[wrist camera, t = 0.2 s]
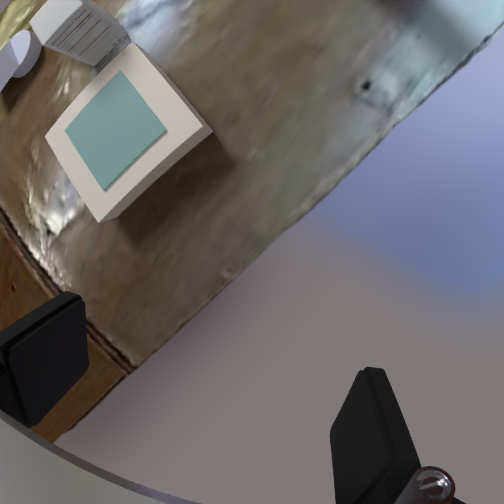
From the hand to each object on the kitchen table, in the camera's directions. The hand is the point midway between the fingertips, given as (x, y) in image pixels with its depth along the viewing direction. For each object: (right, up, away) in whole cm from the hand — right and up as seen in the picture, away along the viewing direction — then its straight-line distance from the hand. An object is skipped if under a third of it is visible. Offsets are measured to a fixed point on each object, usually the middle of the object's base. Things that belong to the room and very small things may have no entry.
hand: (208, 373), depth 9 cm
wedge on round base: (-42, +39, +28) cm, 64 cm away
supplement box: (-22, +36, +26) cm, 50 cm away
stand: (-15, +20, +29) cm, 38 cm away
